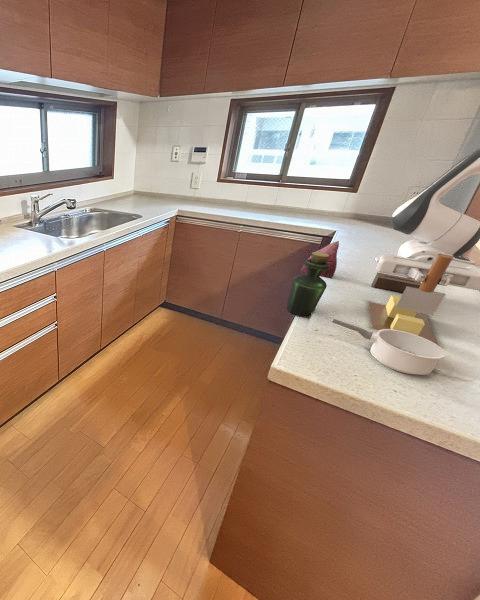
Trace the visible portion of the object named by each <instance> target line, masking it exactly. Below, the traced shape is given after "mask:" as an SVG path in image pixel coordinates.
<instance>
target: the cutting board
mask: <svg viewBox="0 0 480 600" xmlns="http://www.w3.org/2000/svg"><path fill="white" fill-rule="evenodd" d="M368 309H369V316H370V325H371V329H373V330H377V331H379V330H382V329H391V327H390V326H391V324H392V322H393V320H394V318H391V317H388V315H387V310H386V305H384V304H382V303H381V304H380V303H376V302H372V301H368ZM414 318H419V319H423V321H424V323H425V325H424V327H423V328H422V330H421V332H420V333H419V335H418V336H420V337H423V338H425V339H427V340H429V341H431V342H433V343H435V344H437V345H438V346H439V347H440V344H439V342H438V340H437V337H436V335H435V333H434V331H433V329H432V326H431V323H430V322H429V318H428V317H427V314H424V313H420V312H417V314H416V315H415V317H414Z"/></svg>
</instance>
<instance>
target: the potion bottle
mask: <svg viewBox="0 0 480 600" xmlns="http://www.w3.org/2000/svg"><path fill="white" fill-rule="evenodd" d="M311 255H312V259H308V258H307V259H306V260H305V261H304V262H303V265H305V266H307V274H303V273H302V274H299V275H296V276H294V277H293V279H292V282H291V287H290V290H289V295H288V299H287V302H286V303H287V304H286V308H285V309H286V311H287V312H288V313H289V314H291V315H293V316H296V317H299V318H309V317H311V316H312V315H313V313H314V312H315V310H316V308H317V306H318V304H319V302H320V300H321V298H322V296H323V295H324V293H325V292H326V289H327V287H328V285H327V282H326V281H325V280H324V279H323V278H322V277H321V276H320V277H319V275H320V274H321V272H322V271H323V270H327V269H329V264H328V263H327V262H325V261H326V259H327V258H328V256H329V255H328V254H325V253H321V252H316V251H313V252H311Z"/></svg>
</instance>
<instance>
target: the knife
mask: <svg viewBox="0 0 480 600" xmlns="http://www.w3.org/2000/svg"><path fill="white" fill-rule="evenodd" d="M452 259H453V257H452V256H450V255H445V254H438V255H437V257H436V259H435V260H434V262H433V264H432V266H431V268H430V269H429V271H428V273H427V278H426V279H425V281H424V282H421V285H420V287H419V289H418V288H413V287H408V286H407V287H406V289H405V291H404V293H403V294H402V295H401V296H400V297H401V298H400V300H399V302H398V304H397V306H396V307H398V308H402V309H407V310H411V311H415V312H417V313H420V314H424V315H430V316H434V314H435V313H436V311H437V310H438V308H439V306H440V305H441V303H442V301H443V300H444V298H445V296H446V295H447V294H446V293H444V292H439V291H435V290H436V288H437V286H439V285H438V283H439V281H440V280H441V278H442V276H443V274H444V273H445V271H446V269H447V268H448V266H449V264H450V263H451V261H452Z"/></svg>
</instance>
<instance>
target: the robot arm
mask: <svg viewBox="0 0 480 600" xmlns="http://www.w3.org/2000/svg"><path fill="white" fill-rule="evenodd" d="M474 175H480V148H477V149H475V150H474V151H472V152H471V153H469V154H467V156H466V157H464V158H463V159H461V160H460V161H458V162H457V163H456V164H455V165H453V166H452V167H451V168H450V169H448V170H447V171H445V173H443V174H442V175H440V176H439V177H438V178H436V179H435V180H434V181H433V182H432V183H430V184H429V185H428V186H426V187H425V188H424V189H423V190H421V192H419V193H418V194H416V195H415V196H414V197H413V198H410V199H409V200H407V201H406V202H404V203H403V204H401V205H400V206H399V207H398V208H397V209H396V210H395V211H394V212H393V213H392V215H391V216H390V221H391V225H392V228H393V230H394V231H397V232H400V233H402V234H405V235H408V236H410V237H412V238H413V239H410V240H407V241H405V242H404V243H402V244H401V245H400V246H399V248H398V250H397V253H396V255H394V254H382V255H380V256H376V257H374V261H375V262H376V266H375V271H376V272H379V273H384V274H389V275H394V276H399V277H405V278H408V279H410V280H413V281H417V282H421V283H422V282H424V281H425V279H426V278H427V273H428V271H429V269H430V268H431V266H432V264H433V262H434V260H435V259H436V257H437V255H438V254H445V255H450V256H452V257H453V259H452V261H451V263H450V264H449V266H448V268H447V269H446V271H445V273H444V274H443V276H442V278H441V280H440V281H439V283H438V285H437V286H441V287H443V286H444V287H447V286H450V287H451V286H453V287H456V288H457V287H458V288H462V289H468V290H473V291H480V266H478V265H476V264H477V262H476V261H475V260H473V259H469V258H465V257H462V255H464V254H465V253H467V252H468V251H470V250H471V249H472V248H473V247H475V245H476V244H477V243H478V242H479V241H480V220H478V219H475V218H474V217H471V216H469V215H467V214H466V213H465V214H464V213H462V212H459V211H458V210H455V209H453V208H451V207H448V206H446V205H444V204H442V203H441V202H440V198H442V197H443V196H444V195H446V194H447V193H448V192H449V191H451V190H453V188H455V187H456V186H457V185H458V184H460V183H462V181H464V180H465V179H466V178H468V177H470V176H474Z"/></svg>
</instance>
